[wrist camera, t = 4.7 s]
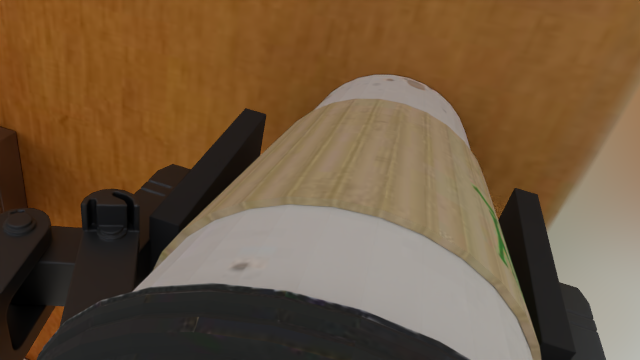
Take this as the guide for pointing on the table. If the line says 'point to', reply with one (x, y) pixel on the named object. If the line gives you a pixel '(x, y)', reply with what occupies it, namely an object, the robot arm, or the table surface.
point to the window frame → (10, 173)
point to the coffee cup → (332, 251)
